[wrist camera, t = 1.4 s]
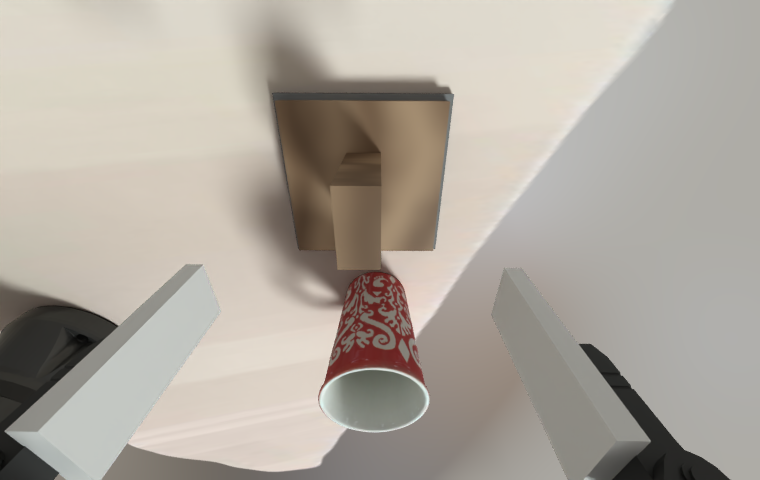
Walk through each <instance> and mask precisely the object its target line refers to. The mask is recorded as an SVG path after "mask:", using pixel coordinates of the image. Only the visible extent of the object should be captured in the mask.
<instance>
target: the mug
mask: <svg viewBox="0 0 760 480" xmlns="http://www.w3.org/2000/svg"><path fill="white" fill-rule="evenodd" d="M429 399H430V397H429V392H428V389H427V387H426V386H425V383H424V379H423V374H422V369H421V364H420V360H419V355H418V351H417V346H416V342H415V337H414V332H413V327H412V323H411V318H410V314H409V309H408V304H407V299H406V295H405V291H404V288H403V286H402V284H401V283H400V282H399V281H398V280H397V279H396V278H394V277H393V276H391V275H389V274H386V273H381V272H370V273H366V274H363V275H361V276H359V277H357V278H356V279H355V280H354V281H353V282H352V283H351V284H350V286H349V288H348V290H347V293H346V297H345V302H344V307H343V310H342V314H341V318H340V322H339V327H338V331H337V335H336V339H335V343H334V346H333V350H332V353H331V357H330V361H329V366H328V370H327V374H326V378H325V382H324V384H323V385H322V387H321V389H320V392H319V396H318V401H319V406H320V408H321V410H322V411H323V413H324V414H325V415H326V416H327V417H328V418H329V419H331V420H332V421H334V422H335V423H337V424H339V425H341V426H344V427H346V428H350V429H353V430H358V431H364V432H385V431H392V430H396V429H399V428H403V427H405V426H408V425H410V424H412V423H413V422H415V421H416V420H418V419H419V418H420V417H421V416H422V415H423V414H424V413H425V411H426V410H427V408H428V405H429Z"/></svg>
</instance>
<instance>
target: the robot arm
mask: <svg viewBox="0 0 760 480" xmlns="http://www.w3.org/2000/svg"><path fill="white" fill-rule="evenodd" d="M220 312H221V310H220V307H219V304H218V302H217V299H216V296H215V294H214V291H213V289H212V286H211V283H210V281H209V278H208V276H207V273H206V270H205V268H204V265H185V266H184V267H183V268H182V269H180V270H179V271H178V272H177V273H176V274H175V275H174V276H173V277H172V278H171V279H170V280H169V281H167V282H166V283H165V284H164V285H163V286H162V287H161V288H160V289H159V290H158V291H157V292H155V293H154V294H153V295H152V296H151V297H150V298H149V299H148V300H147V301H146V302H145V303H143V304H142V305H141V306H140V307H139V308H138V309H137V310H136V311H135V312H134V313H133V314H131V315H130V316H129V317H128V318H127V319H126V320H125V321H124V322H123V323H122V324H121V325H119V326H118V327H116V326H115V325H113V324H112V323H110V322H108V321H106V320H104V319H102V318H100V317H98V316H96V315H93V314H90V313H88V312H85V311H81V310H78V309H73V308H68V307H61V306H44V307H38V308H35V309H32V310H30V311H28V312H26V313H25V314H23V315H22V316H20V317H19V318H17V319H16V320H14V321H13V322H11V323H10V324H8V325H7V326H6V327H5V328H4V329H3V330H2V331H1V334H0V480H54V479H55V477H56V476H57V475H58V474H60V475H61V476H63V477H64V478H65V479H66V480H101V479H102V478H103V476H104V475H105V474H106V472H107V471H108V469H109V468H110V466H111V465H112V464H113V462H114V461H115V459H116V458H117V457H118V455H119V454H120V453H121V451H122V450H123V448H124V447H125V445H126V444H127V443H128V441H129V440H130V438H131V437H132V436H133V434H134V433H135V431H136V430H137V429H138V427H139V426H140V424H141V423H142V422H143V420H144V419H145V417H146V416H147V415H148V413H149V412H150V410H151V409H152V408H153V406H154V405H155V403H156V402H157V401H158V399H159V398H160V396H161V395H162V394H163V392H164V391H165V389H166V388H167V387H168V385H169V384H170V382H171V381H172V380H173V378H174V377H175V375H176V374H177V372H178V371H179V370H180V368H181V367H182V365H183V364H184V363H185V361H186V360H187V358H188V357H189V356H190V354H191V353H192V351H193V350H194V349H195V347H196V346H197V344H198V343H199V342H200V340H201V339H202V337H203V336H204V335H205V333H206V332H207V330H208V329H209V328H210V326H211V325H212V323H213V322H214V321H215V319H216V318H217V316H218V315H219V314H220ZM491 315H492V317H493V320H494V322H495V324H496V326H497V328H498V330H499V332H500V335H501V337H502V339H503V341H504V343H505V345H506V348H507V350H508V352H509V354H510V356H511V358H512V361H513V363H514V365H515V367H516V369H517V371H518V373H519V375H520V378H521V380H522V382H523V384H524V386H525V389H526V391H527V393H528V395H529V397H530V399H531V401H532V403H533V406H534V408H535V410H536V412H537V414H538V417H539V419H540V421H541V423H542V425H543V427H544V430H545V432H546V434H547V436H548V438H549V440H550V443H551V445H552V447H553V449H554V451H555V453H556V455H557V458H558V460H559V462H560V464H561V466H562V468H563V471H564V473H565V475H566V477H567V479H568V480H730V479H729V478H727V477H726V476H725V475H724V474H723V473H722V472H721V471H720V470H718V468H717V467H715V466H714V465H712V464H711V463H709V462H707V461H706V460H705V459H703V458H702V457H699V456H697V455H695V454H693V453H690V452H688V451H685V450H684V449H683V448H682V447H681V446H680V445H679V444H678V443H677V442H676V440H675V439H674V438H673V437H672V436H671V434H670V433H669V432H668V431H667V429H666V428H665V427H664V426H663V424H662V423H661V422H660V421H659V420H658V418H657V417H656V416H655V415H654V413H653V412H652V411H651V410H650V409H649V407H648V406H647V405H646V404H645V402H644V401H643V400H642V399H641V398H640V396H639V395H638V394H637V393H636V391H635V390H634V389H632V388H631V385H630V384H629V383H628V382H627V380H626V379H625V378H624V377H623V376H621V375H620V372H619V371H618V369H617V368H616V367H615V366H614V364H613V363H612V362H611V361H610V360H609V358H608V357H607V356H605V355H604V354H603V353H601V352H600V351H599V350H598V349H597V348H595V347H594V346H593V345H591V344H578V343H577V341H576V340H575V339H574V337H573V336H572V335H571V333H570V332H569V331H568V329H567V328H566V327H565V326H564V324H563V323H562V321H561V320H560V319H559V317H558V316H557V314H556V313H555V312H554V310H553V309H552V308H551V307H550V305H549V304H548V302H547V301H546V300H545V299H544V297H543V296H542V294H541V293H540V292H539V290H538V289H537V288H536V286H535V285H534V284H533V282H532V281H531V280H530V279H529V277H528V276H527V274H526V273H525V272H524V270H523V269H522V268H504V270H503V274H502V278H501V281H500V285H499V288H498V292H497V296H496V299H495V302H494V306H493V310H492V313H491Z"/></svg>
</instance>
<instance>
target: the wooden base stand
mask: <svg viewBox="0 0 760 480" xmlns="http://www.w3.org/2000/svg"><path fill="white" fill-rule="evenodd" d="M275 106H276V112H277V118H278V124H279V130H280V136H281V142H282V148H283V155H284V161H285V167H286V173H287V179H288V185H289V191H290V197H291V203H292V209H293V215H294V221H295V227H296V233H297V239H298V245H299V250H336V259H337V270H381V251H433V245H434V236H435V228H436V219H437V211H438V202H439V193H440V185H441V176H442V168H443V159H444V151H445V142H446V134H447V125H448V117H449V108H450V101H396V100H276V101H275Z"/></svg>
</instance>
